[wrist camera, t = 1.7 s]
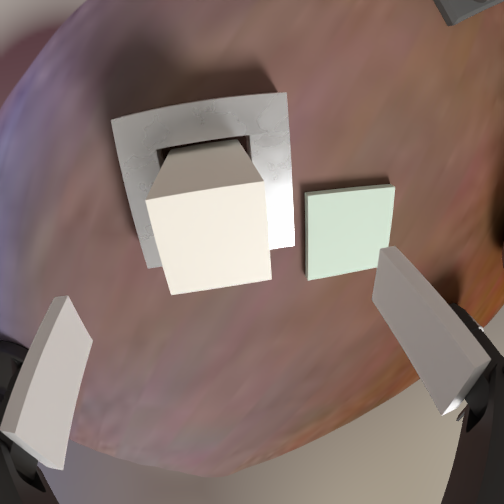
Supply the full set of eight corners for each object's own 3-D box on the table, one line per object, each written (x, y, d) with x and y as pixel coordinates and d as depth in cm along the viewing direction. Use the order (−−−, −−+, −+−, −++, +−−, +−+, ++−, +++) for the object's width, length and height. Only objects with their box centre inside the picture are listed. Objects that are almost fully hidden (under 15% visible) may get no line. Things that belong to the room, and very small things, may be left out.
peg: (181, 209, 29) (171, 294, 18) (170, 149, 26) (145, 200, 15) (244, 200, 29) (271, 279, 18) (237, 138, 26) (264, 181, 15)
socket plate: (151, 252, 30) (147, 268, 28) (120, 116, 23) (110, 120, 21) (286, 231, 32) (294, 245, 29) (277, 91, 24) (286, 92, 22)
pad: (305, 275, 35) (307, 280, 34) (304, 192, 30) (307, 195, 29) (381, 261, 36) (385, 265, 35) (390, 183, 30) (395, 187, 30)
